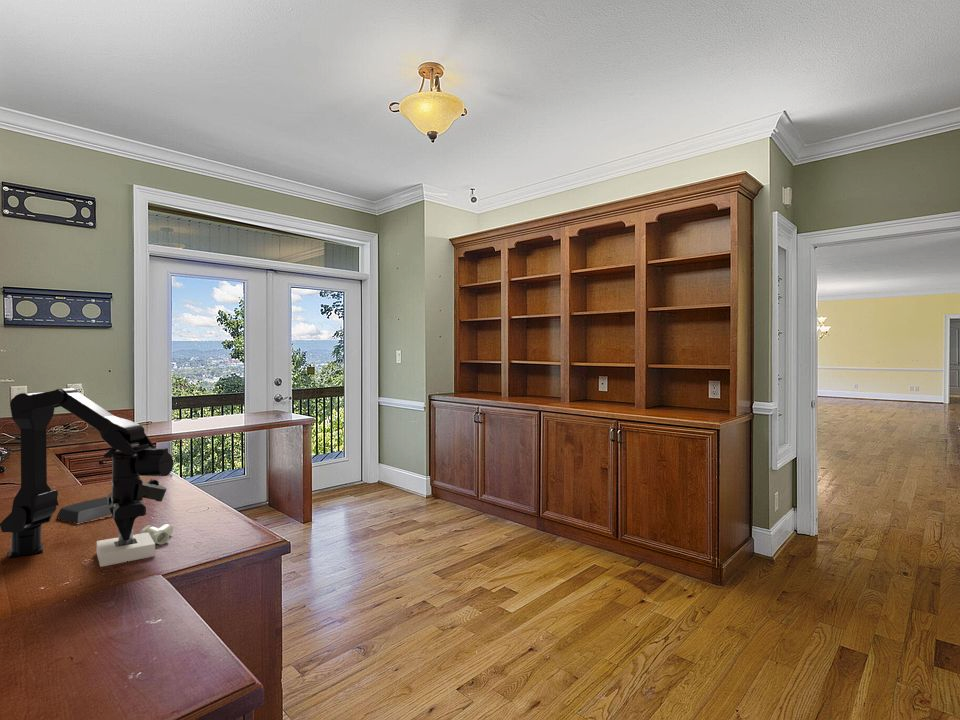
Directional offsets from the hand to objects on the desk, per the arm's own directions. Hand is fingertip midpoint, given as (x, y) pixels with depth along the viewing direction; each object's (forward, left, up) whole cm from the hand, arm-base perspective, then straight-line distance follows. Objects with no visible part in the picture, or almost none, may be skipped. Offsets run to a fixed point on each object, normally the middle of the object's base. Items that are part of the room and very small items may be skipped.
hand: (125, 538), depth 131 cm
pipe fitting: (-7, +9, -4) cm, 12 cm away
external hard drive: (-45, -2, -5) cm, 46 cm away
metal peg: (0, 0, -3) cm, 3 cm away
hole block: (0, 0, -4) cm, 4 cm away
